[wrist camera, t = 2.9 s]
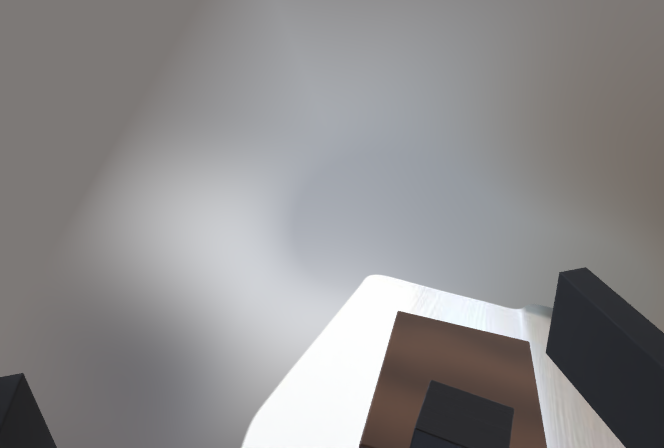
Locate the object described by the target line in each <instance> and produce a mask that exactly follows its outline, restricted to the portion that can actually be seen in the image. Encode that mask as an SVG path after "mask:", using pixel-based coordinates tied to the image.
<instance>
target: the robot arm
mask: <svg viewBox="0 0 664 448" xmlns="http://www.w3.org/2000/svg"><path fill="white" fill-rule="evenodd" d="M546 354H547V355H548V356H549V357H550V358H551V359H552V361H553V362H554V363H555V364H556V365H557V367H558V368H559V369H560V370H561V371H562V373H563V374H564V375H565V376H566V377H567V378H568V380H569V381H570V382H571V383H572V384H573V386H574V387H575V388H576V389H577V390H578V391H579V393H580V394H581V395H582V396H583V397H584V399H585V400H586V401H587V402H588V403H589V405H590V406H591V407H592V408H593V409H594V410H595V412H596V413H597V414H598V415H599V416H600V418H601V419H602V420H603V421H604V422H605V423H606V425H607V426H608V427H609V428H610V429H611V431H612V432H613V433H614V434H615V435H616V437H617V438H618V439H619V440H620V441H621V442H622V444H623V445H624V446H625V447H626V448H664V333H663V332H662V331H660V330H659V329H658V328H657V327H656V326H655V325H653V324H652V323H651V322H650V321H649V320H647V319H646V318H645V317H644V316H643V315H642V314H640V313H639V312H638V311H637V310H636V309H634V308H633V307H632V306H631V305H630V304H628V303H627V302H626V301H625V300H624V299H623V298H621V297H620V296H619V295H618V294H616V292H614V291H613V290H612V289H611V288H609V287H608V286H607V285H606V284H605V283H604V282H602V281H601V280H600V279H599V278H598V277H597V276H595V275H594V274H593V273H592V272H591V271H590V270H588V269H587V268H580V269H575V270H569V271H564V272H560V273H559V278H558V284H557V290H556V296H555V302H554V307H553V313H552V319H551V325H550V331H549V337H548V342H547V348H546ZM0 448H57V447H56V445H55V443H54V440H53V438H52V436H51V434H50V432H49V429H48V427H47V425H46V423H45V420H44V418H43V416H42V414H41V412H40V410H39V407H38V405H37V403H36V401H35V398H34V396H33V394H32V392H31V389H30V387H29V385H28V383H27V381H26V379H25V376H24V374H23V373H21V374H15V375H10V376H5V377H0Z"/></svg>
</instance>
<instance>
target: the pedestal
mask: <svg viewBox="0 0 664 448" xmlns="http://www.w3.org/2000/svg"><path fill="white" fill-rule="evenodd" d="M431 380H434V381H437V382H440V383H443V384H446V385H449V386H452V387H455V388H457V389H460V390H463V391H466V392H469V393H472V394H475V395H478V396H481V397H483V398H486V399H489V400H492V401H495V402H498V403H501V404H504V405H507V406H509V407H512V408H514V418H513V426H512V433H511V441H510V448H547V445H546V439H545V433H544V427H543V421H542V415H541V409H540V403H539V397H538V391H537V385H536V379H535V374H534V368H533V362H532V356H531V350H530V344H529V342H528V341H524V340H520V339H515V338H511V337H507V336H503V335H498V334H494V333H490V332H486V331H481V330H477V329H473V328H469V327H464V326H460V325H456V324H452V323H448V322H443V321H439V320H435V319H431V318H426V317H422V316H418V315H414V314H409V313H405V312H401V311H398V312H397V315H396V319H395V322H394V326H393V329H392V333H391V336H390V340H389V343H388V347H387V350H386V354H385V357H384V361H383V364H382V368H381V371H380V375H379V378H378V382H377V385H376V389H375V392H374V395H373V399H372V402H371V406H370V409H369V413H368V416H367V420H366V423H365V427H364V430H363V434H362V437H361V441H360V444H359V448H410V443H411V439H412V435H413V431H414V427H415V424H416V421H417V418H418V415H419V412H420V409H421V406H422V403H423V400H424V397H425V394H426V391H427V388H428V385H429V382H430V381H431Z"/></svg>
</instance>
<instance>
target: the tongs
mask: <svg viewBox="0 0 664 448" xmlns="http://www.w3.org/2000/svg"><path fill="white" fill-rule="evenodd" d="M513 418H514V408H512V407H509V406H507V405H504V404H501V403H498V402H495V401H492V400H489V399H486V398H483V397H481V396H478V395H475V394H472V393H469V392H466V391H463V390H460V389H457V388H455V387H452V386H449V385H446V384H443V383H440V382H437V381H434V380H431V381H430V382H429V385H428V388H427V391H426V394H425V397H424V400H423V403H422V406H421V409H420V412H419V415H418V418H417V421H416V424H415V427H414V431H413V435H412V439H411V443H410V448H510V441H511V433H512V426H513Z"/></svg>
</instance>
